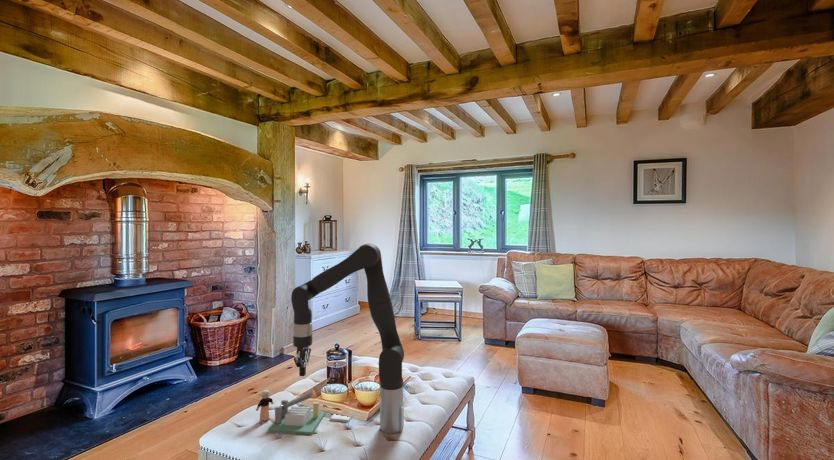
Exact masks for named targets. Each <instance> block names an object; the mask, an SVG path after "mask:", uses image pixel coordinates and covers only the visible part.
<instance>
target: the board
mask: <svg viewBox="0 0 834 460" xmlns="http://www.w3.org/2000/svg"><path fill="white" fill-rule="evenodd" d="M287 402H289V400H288V399H281V401H280V403H281V404H282V403H287ZM281 404H280V405H281ZM312 404H313V405H312V407H313V408H312V409H311V407H310V406H307V407H306V406H294V405H293V406H290V408H289V407H288V408H286V409H283V410H282V407H279V406H275V408H274V421H273V423H272V424H271V425H270V427H268V429H267V433H277V434H278V433H281V434H293V433H298V434H297V435H313V434H314V433H315V431H316V429H318V427H319V425H320V423H321V422H322V420H323V419H324V417H325V416H326V411H320V401H314V402H313V403H312Z"/></svg>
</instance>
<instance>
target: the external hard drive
mask: <svg viewBox="0 0 834 460" xmlns="http://www.w3.org/2000/svg"><path fill="white" fill-rule="evenodd" d="M351 420H352V418H351V417H347V416H341V415H336V414H334V413H333V414H332V415H331V417H330V418H329V421H335V422H343V423H350V421H351Z"/></svg>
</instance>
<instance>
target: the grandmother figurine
mask: <svg viewBox="0 0 834 460" xmlns="http://www.w3.org/2000/svg"><path fill="white" fill-rule="evenodd" d="M269 395H270V391H269V390H268V389H264V390H262V391H261V392H260V397H262V398H261V399H260V401H259V402H258V404H257V406H256V408H255V411H257V412H258V411H259V410H260V411H259V412H260V413H259V420H258V422H260V423H259V424H263V423H265V422H268V421H270V420H271V418H270V411H269V410H270V404H271V405H274V400H273V398H271V397H269Z"/></svg>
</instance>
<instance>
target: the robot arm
mask: <svg viewBox="0 0 834 460" xmlns="http://www.w3.org/2000/svg"><path fill="white" fill-rule="evenodd" d="M383 268H384V267H383V261H382V254H381V249H380V248H379V247H378V246H377V245H376V244H374V243H365V244H362V245H360V246H359V247H358V248H357V249H356V250H355V251H354V252H353V253H352V254H350V255H349V256H347V257H346V258H345V259H343V260H342V261H340V262H338V263H337V264H335V265H333V266H331V267H329V268H328V269H325V270H324V271H322V272H320V273H319V274H318V275H316V276H314V277H313V278H312V279H311V280H309V281H307V282H304V283H303V284H300V285H299V286H296V287H295V288H294V289H293V290H292V292H291V298H290V299H291V306H292V311H293V329H292V330H293V332H292V333H293V334H292V337H293V338H292V339H293V340H292V344H293V347H294V348H296V351H295V353H296V357H294V358H293V361H294V363H295V366H296V368H298V369H299V371H298V372H299V377H305V376H306V375H307V365H308V363H309V361H310V357H311V351H312V348H309V347H310V346H312V344H313V323H312V322H313V321H312V320H313V319H312V318H313V312H312V311H313V310H312V309H311V308H310V307H309V301H310V300H312V299H313V298H315V297H317V296H318V295H319V294H321V293H323V292H325V291H327V290H329V289H331V288H332V287H333V286H335V285H337V284H338V283H340V282H341V281H342V280H344V279H346V278H347V277H349V276H350V275H352V274H353V273H356V272H358V271H361V270H364V273H365V276H366V293H367V295H366V296H367V304H368V308H369V312H370V317H371V319H372V321H373V323H374V325H375V327H376V328H377V329H376V330H377V331H378V333H379V336H380V342H381V349H382V350H381V352H380V354H379V357H378V379H379V428H380V431H381V432H382V433H384V434H385V433H386V434H389V435H390V434H396V433H403V429H404V425H405V423H404V422H405V421H404V417H405V415H404V414H405V405H404V404H405V402H404V378H403V361H404V358H405V351H404V348H403V345H402V342H401V339H400V336H399V333H398V330H397V326H396V320H395V319H396V318H395V313H394V307H393V303H392V300H391V295H390V291H389V289H388V284H387V281H386V277H385V274H384V269H383Z"/></svg>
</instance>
